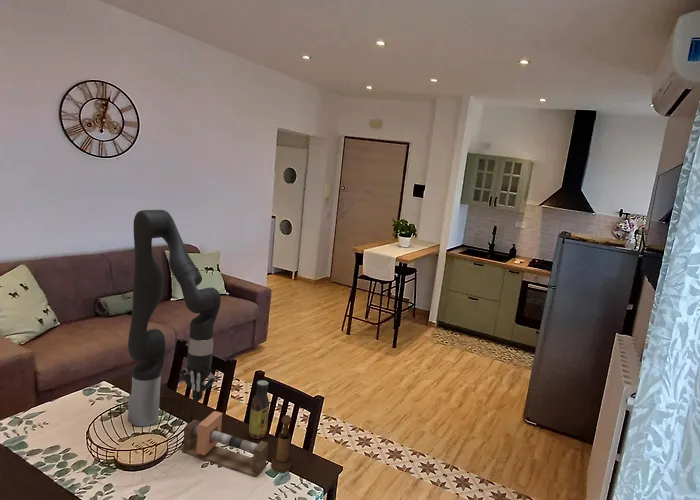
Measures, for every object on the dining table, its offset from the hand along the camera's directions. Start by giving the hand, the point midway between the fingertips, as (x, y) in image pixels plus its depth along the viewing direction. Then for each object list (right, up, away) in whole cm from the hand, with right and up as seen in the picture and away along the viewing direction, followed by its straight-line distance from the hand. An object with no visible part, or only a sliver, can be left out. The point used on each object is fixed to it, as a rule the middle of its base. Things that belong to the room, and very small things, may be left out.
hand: (197, 400), depth 155 cm
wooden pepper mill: (+27, -22, 0) cm, 35 cm away
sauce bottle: (+16, -17, +16) cm, 29 cm away
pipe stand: (+9, -19, 0) cm, 21 cm away
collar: (+3, -16, +1) cm, 16 cm away
